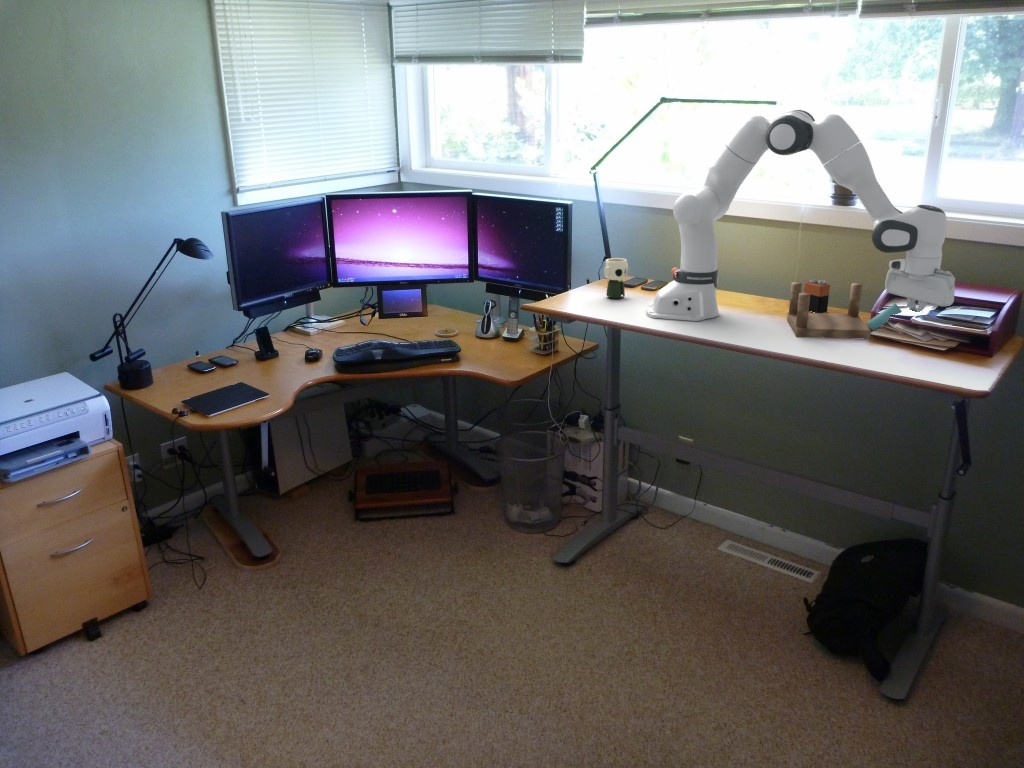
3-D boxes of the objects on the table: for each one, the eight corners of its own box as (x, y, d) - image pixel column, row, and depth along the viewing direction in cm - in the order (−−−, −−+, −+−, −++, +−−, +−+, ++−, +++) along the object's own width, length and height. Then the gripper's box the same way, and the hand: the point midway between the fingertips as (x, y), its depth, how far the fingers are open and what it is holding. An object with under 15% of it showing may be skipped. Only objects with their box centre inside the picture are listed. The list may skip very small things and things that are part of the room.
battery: (818, 314, 261) (821, 283, 258) (800, 310, 266) (804, 279, 263) (827, 312, 263) (831, 281, 260) (810, 308, 268) (813, 277, 265)
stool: (796, 336, 238) (800, 295, 234) (786, 320, 255) (790, 281, 251) (870, 339, 235) (875, 297, 231) (855, 322, 252) (860, 282, 248)
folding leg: (867, 324, 234) (896, 304, 231) (865, 321, 237) (893, 302, 234) (874, 332, 235) (903, 312, 232) (871, 329, 238) (900, 310, 235)
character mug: (611, 302, 280) (612, 263, 275) (596, 298, 285) (597, 260, 281) (634, 296, 286) (635, 259, 282) (619, 293, 291) (620, 256, 287)
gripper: (964, 271, 221) (955, 322, 225) (900, 258, 238) (894, 305, 243) (947, 274, 218) (939, 325, 223) (884, 260, 236) (878, 308, 240)
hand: (915, 315), depth 233 cm, fingers closed
